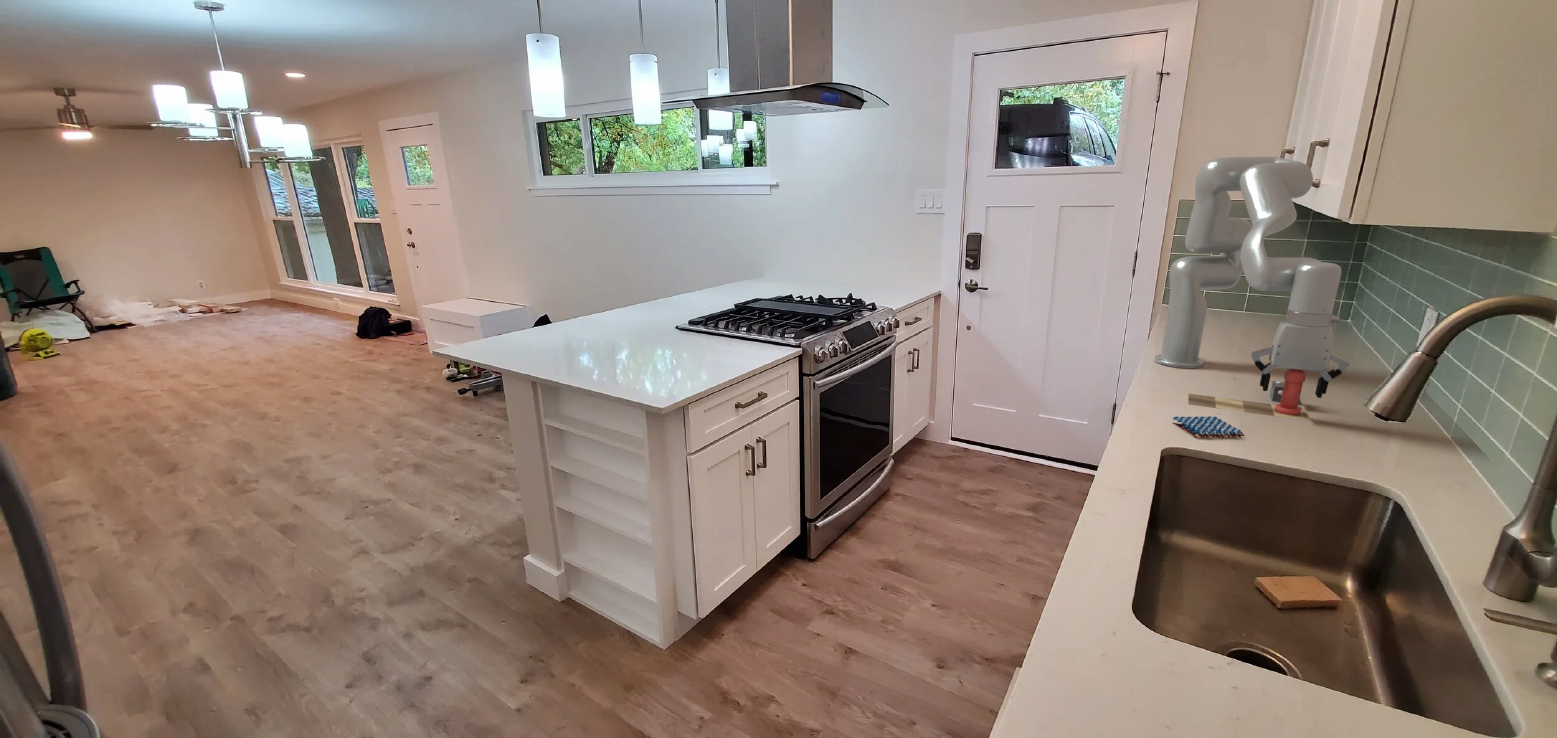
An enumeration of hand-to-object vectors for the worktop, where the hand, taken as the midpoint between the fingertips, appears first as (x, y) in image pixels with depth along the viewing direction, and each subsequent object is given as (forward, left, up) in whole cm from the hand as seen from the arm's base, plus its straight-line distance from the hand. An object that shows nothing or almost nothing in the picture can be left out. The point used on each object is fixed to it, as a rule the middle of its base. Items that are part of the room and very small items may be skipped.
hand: (1290, 392), depth 143 cm
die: (-10, 0, -6) cm, 11 cm away
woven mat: (+18, -16, -7) cm, 25 cm away
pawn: (0, 0, -5) cm, 5 cm away
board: (0, -8, -6) cm, 10 cm away
